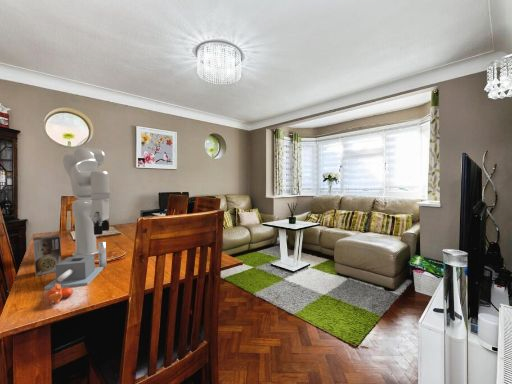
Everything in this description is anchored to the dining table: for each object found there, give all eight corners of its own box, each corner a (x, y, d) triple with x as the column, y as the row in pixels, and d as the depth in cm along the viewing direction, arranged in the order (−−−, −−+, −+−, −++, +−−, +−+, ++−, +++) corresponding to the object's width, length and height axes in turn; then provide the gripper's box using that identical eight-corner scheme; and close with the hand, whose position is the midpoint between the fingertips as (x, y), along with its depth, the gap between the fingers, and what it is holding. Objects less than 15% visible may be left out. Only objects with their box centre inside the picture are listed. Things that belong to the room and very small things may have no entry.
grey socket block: (67, 272, 105) (67, 254, 104) (103, 268, 109) (102, 252, 108) (37, 294, 84) (36, 273, 83) (83, 289, 88) (82, 268, 87)
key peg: (100, 266, 112) (99, 241, 112) (107, 265, 113) (106, 241, 113) (98, 268, 109) (97, 243, 109) (105, 267, 110) (104, 242, 110)
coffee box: (61, 267, 111) (59, 233, 111) (62, 270, 107) (60, 236, 106) (34, 272, 105) (33, 237, 104) (35, 276, 100) (33, 239, 100)
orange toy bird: (48, 279, 83) (48, 291, 74) (74, 280, 88) (76, 291, 79) (43, 294, 82) (42, 307, 73) (69, 294, 87) (71, 307, 78)
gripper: (98, 196, 117) (99, 229, 117) (83, 198, 100) (85, 236, 101) (114, 196, 119) (116, 228, 120) (103, 197, 103) (104, 235, 103)
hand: (102, 232), depth 110 cm, fingers open, 9 cm apart
